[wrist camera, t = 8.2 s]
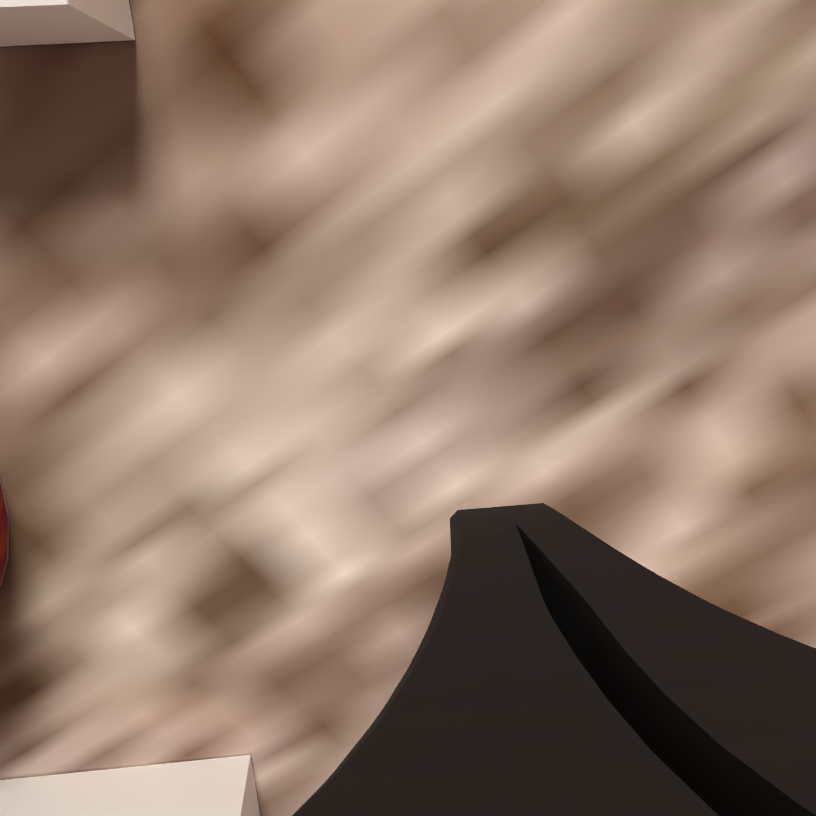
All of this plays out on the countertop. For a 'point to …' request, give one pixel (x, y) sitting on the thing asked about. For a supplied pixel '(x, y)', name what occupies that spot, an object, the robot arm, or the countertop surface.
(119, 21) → the notched board
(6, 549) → the canned food
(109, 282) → the countertop surface
